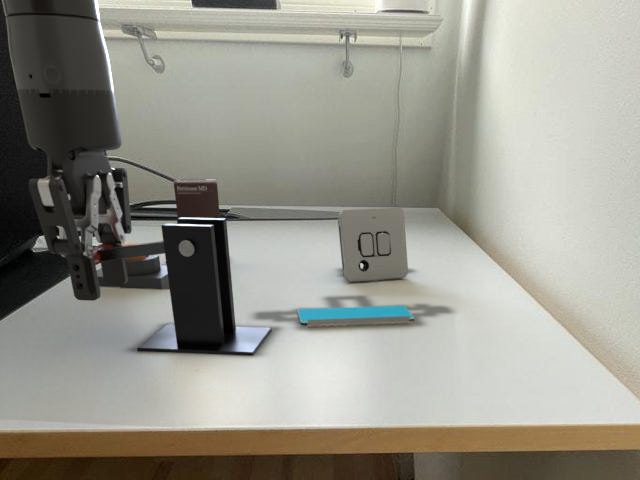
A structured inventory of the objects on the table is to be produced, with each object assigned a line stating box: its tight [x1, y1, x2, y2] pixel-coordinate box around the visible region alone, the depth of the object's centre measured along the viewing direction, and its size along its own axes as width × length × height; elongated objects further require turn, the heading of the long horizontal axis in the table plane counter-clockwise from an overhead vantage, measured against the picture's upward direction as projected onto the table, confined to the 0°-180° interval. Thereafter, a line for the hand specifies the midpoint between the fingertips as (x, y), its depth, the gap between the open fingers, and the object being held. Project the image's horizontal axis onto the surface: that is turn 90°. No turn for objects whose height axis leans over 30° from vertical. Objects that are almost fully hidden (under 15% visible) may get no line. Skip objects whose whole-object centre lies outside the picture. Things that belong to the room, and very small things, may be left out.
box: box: [173, 178, 221, 219], centre depth 95 cm, size 6×4×12 cm
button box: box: [96, 254, 170, 290], centre depth 86 cm, size 10×8×4 cm
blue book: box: [297, 305, 415, 328], centre depth 74 cm, size 20×12×2 cm, turn 99°
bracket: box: [136, 217, 273, 357], centre depth 62 cm, size 11×8×12 cm
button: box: [122, 242, 147, 260], centre depth 85 cm, size 4×4×2 cm
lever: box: [92, 240, 218, 266], centre depth 61 cm, size 12×6×2 cm, turn 84°
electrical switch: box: [337, 207, 409, 283], centre depth 92 cm, size 9×5×9 cm, turn 110°
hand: (102, 290), depth 63 cm, fingers closed on lever, 5 cm apart
